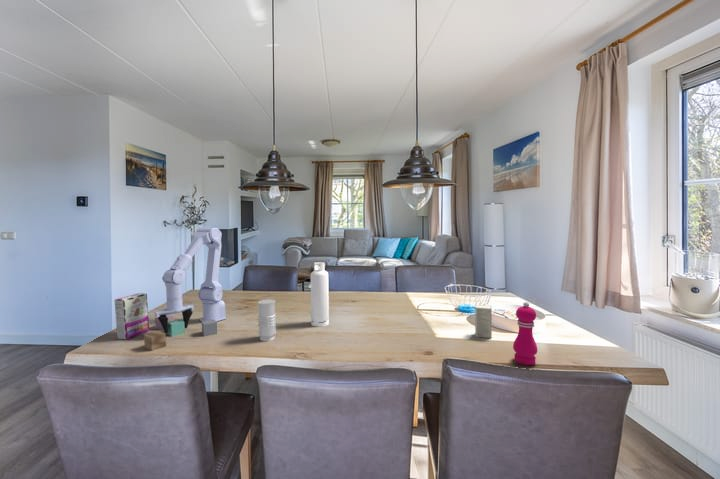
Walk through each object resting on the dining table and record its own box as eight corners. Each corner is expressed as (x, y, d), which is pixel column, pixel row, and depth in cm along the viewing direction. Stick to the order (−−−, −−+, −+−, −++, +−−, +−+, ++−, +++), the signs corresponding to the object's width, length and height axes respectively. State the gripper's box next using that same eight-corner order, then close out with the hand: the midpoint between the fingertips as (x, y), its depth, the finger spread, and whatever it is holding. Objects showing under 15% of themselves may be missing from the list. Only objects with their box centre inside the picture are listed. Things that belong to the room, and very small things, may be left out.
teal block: (179, 330, 141) (179, 319, 140) (184, 333, 138) (184, 321, 137) (167, 334, 137) (166, 322, 137) (171, 336, 134) (171, 324, 133)
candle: (260, 342, 126) (259, 304, 125) (257, 337, 132) (256, 300, 132) (278, 339, 129) (277, 302, 129) (274, 334, 136) (273, 298, 135)
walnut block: (158, 344, 126) (158, 331, 126) (166, 346, 123) (165, 333, 123) (144, 348, 121) (144, 335, 121) (152, 351, 119) (151, 337, 119)
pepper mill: (514, 354, 114) (516, 298, 113) (538, 359, 110) (540, 301, 109) (510, 362, 108) (512, 302, 107) (535, 367, 104) (537, 306, 103)
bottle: (307, 325, 147) (306, 263, 145) (316, 320, 154) (316, 261, 153) (323, 327, 144) (322, 264, 142) (332, 322, 151) (331, 262, 150)
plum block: (165, 325, 148) (165, 314, 148) (174, 326, 146) (173, 315, 146) (155, 328, 143) (155, 317, 143) (164, 330, 142) (163, 318, 141)
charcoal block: (214, 330, 141) (214, 319, 140) (217, 334, 137) (216, 322, 136) (202, 333, 138) (201, 321, 137) (204, 336, 134) (203, 324, 133)
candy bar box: (139, 330, 142) (138, 292, 141) (149, 330, 141) (147, 293, 140) (115, 339, 131) (113, 299, 130) (126, 340, 130) (124, 299, 129)
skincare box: (491, 334, 134) (491, 305, 133) (491, 338, 129) (492, 308, 129) (474, 333, 136) (475, 304, 135) (474, 336, 131) (475, 307, 131)
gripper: (158, 303, 128) (160, 337, 129) (196, 296, 139) (197, 327, 140) (152, 300, 133) (153, 333, 134) (189, 294, 144) (190, 324, 145)
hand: (175, 330), depth 137 cm, fingers open, 7 cm apart
